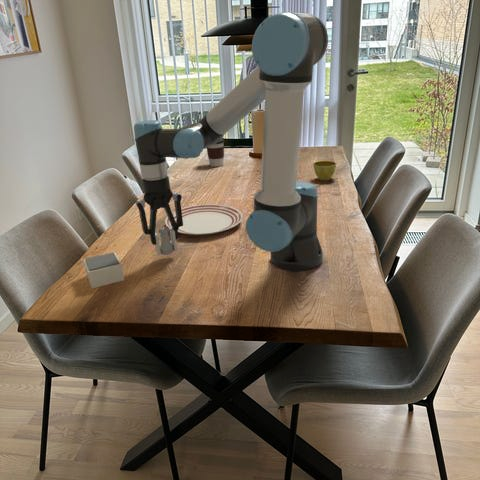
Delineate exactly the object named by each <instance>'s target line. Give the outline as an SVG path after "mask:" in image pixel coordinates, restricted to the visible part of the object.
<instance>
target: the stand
mask: <svg viewBox="0 0 480 480" xmlns="http://www.w3.org/2000/svg"><path fill="white" fill-rule="evenodd" d="M83 263H84V267H85V272H86V276H87V278H88V279H87V280H88V281H89V284H90V287H91V289H96V288H100V287H103V286H107V285H111V284H114V283H115V284H116V283H118V282H123V281H125V274H124V269H123V265H122V262H121V261H120V259H119V256H118V255H117V253H116V252H109V253H105V254H100V255H95V256H91V257H87V258H85V259H83Z"/></svg>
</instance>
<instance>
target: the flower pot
mask: <svg viewBox="0 0 480 480" xmlns="http://www.w3.org/2000/svg"><path fill="white" fill-rule="evenodd" d="M312 165H313V171H314V173H315V175H316V177H317V179H318V180H319V181H321V182H322V181H325V182H326V181H330V180H331V179H332V177H333V175H334V173H335V170H336V168H337V162H336V161H331V160H319V161H315V162H313V164H312Z"/></svg>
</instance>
